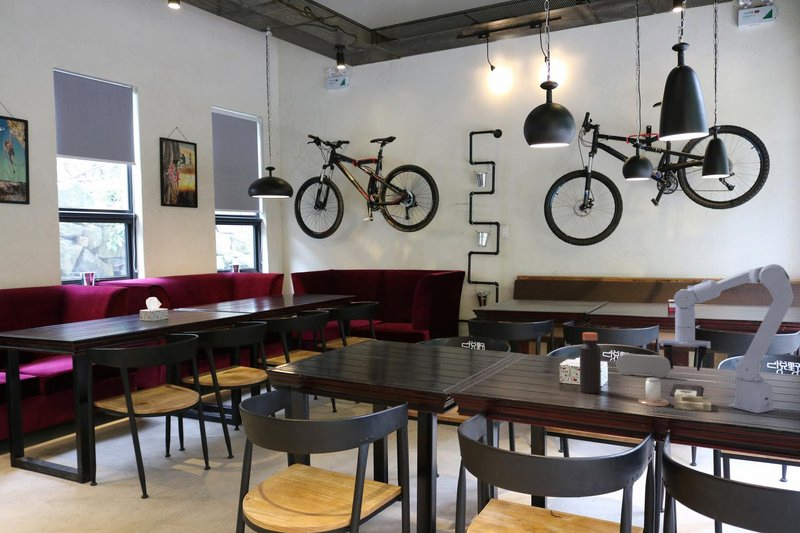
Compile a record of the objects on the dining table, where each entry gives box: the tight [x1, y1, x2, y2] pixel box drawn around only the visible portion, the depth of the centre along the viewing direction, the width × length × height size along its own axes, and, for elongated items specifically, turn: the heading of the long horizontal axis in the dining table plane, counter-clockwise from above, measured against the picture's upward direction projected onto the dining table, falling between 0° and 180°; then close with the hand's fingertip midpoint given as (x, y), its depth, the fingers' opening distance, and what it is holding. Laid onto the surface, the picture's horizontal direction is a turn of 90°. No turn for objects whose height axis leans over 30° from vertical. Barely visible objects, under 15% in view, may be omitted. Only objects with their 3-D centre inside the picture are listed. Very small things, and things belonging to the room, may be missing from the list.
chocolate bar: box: [669, 383, 703, 398], centre depth 209 cm, size 9×1×18 cm
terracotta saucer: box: [637, 397, 670, 407], centre depth 195 cm, size 9×9×1 cm
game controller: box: [615, 352, 672, 379], centre depth 235 cm, size 20×2×8 cm, turn 63°
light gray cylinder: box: [645, 377, 662, 403], centre depth 195 cm, size 4×4×7 cm
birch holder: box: [673, 395, 712, 412], centre depth 191 cm, size 10×10×2 cm
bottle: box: [579, 331, 602, 394], centre depth 211 cm, size 7×7×20 cm
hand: (685, 369), depth 198 cm, fingers open, 7 cm apart
